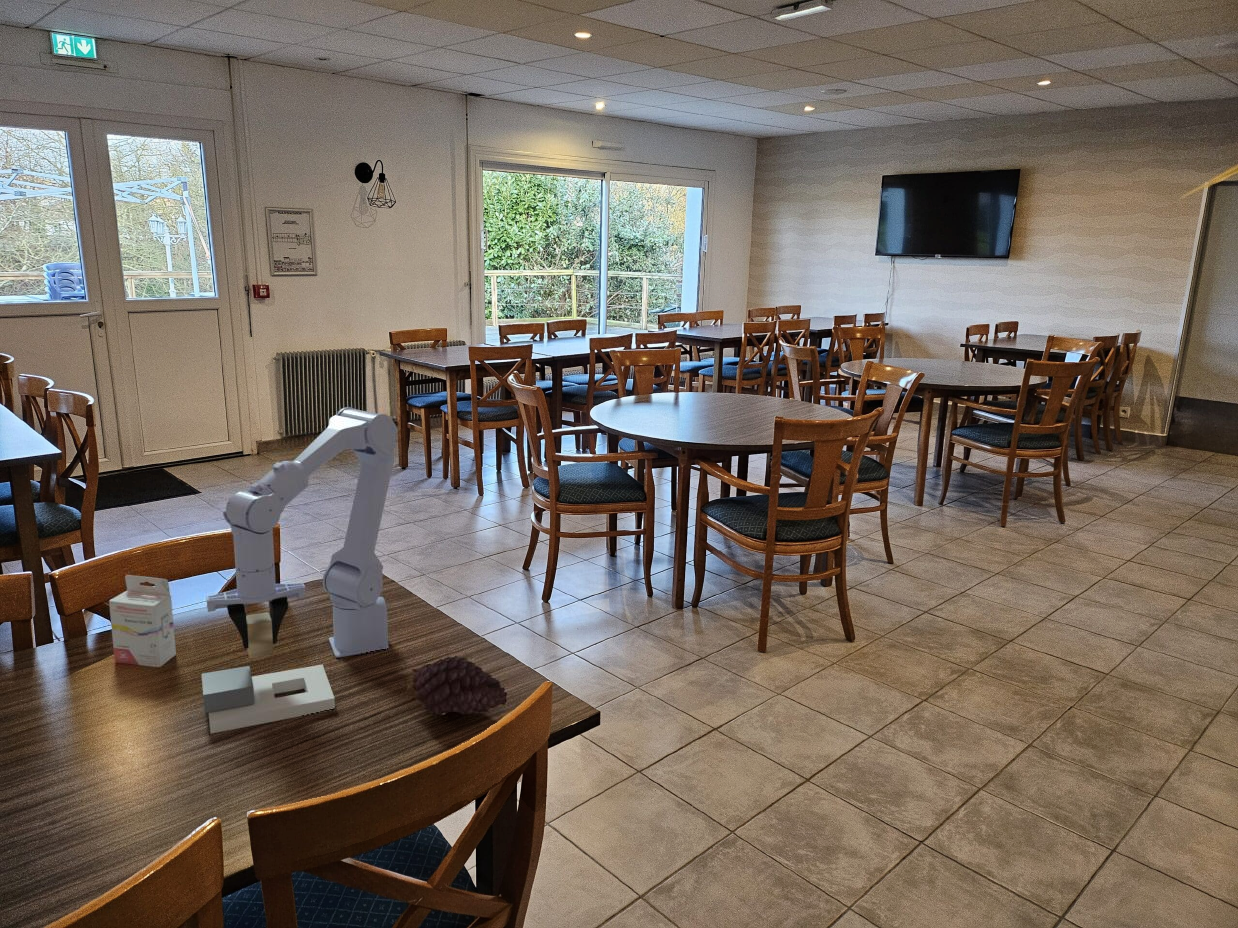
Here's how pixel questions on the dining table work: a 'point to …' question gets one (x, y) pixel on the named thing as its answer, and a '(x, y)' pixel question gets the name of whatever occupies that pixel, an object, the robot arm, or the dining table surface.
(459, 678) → the pine cone
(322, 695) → the socket plate
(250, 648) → the maple peg
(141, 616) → the ink cartridge box
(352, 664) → the dining table surface
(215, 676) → the grey cover
